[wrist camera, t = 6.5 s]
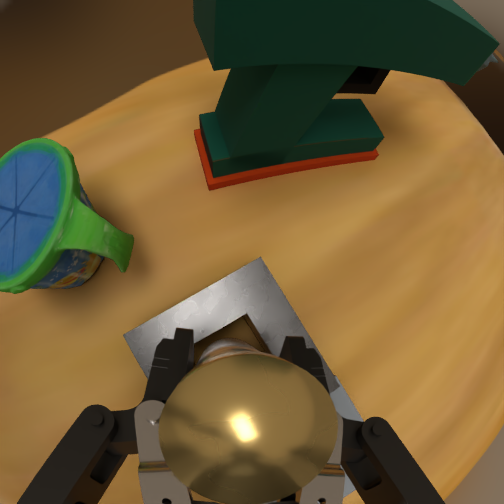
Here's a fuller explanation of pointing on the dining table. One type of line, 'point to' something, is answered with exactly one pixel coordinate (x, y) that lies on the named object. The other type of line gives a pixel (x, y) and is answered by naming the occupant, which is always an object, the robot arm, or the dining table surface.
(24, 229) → the snack cup
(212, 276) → the dining table surface
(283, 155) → the power tool
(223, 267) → the dining table surface
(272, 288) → the socket block
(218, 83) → the dining table surface
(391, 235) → the dining table surface
